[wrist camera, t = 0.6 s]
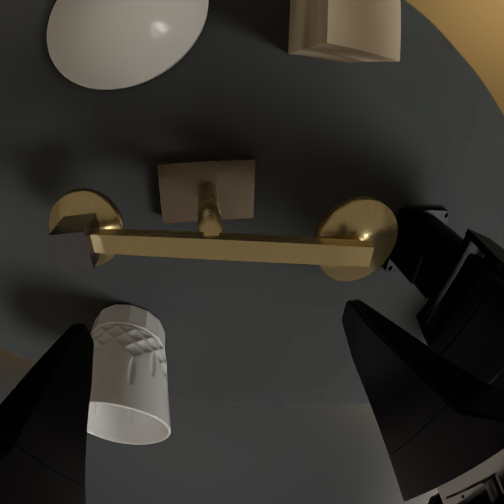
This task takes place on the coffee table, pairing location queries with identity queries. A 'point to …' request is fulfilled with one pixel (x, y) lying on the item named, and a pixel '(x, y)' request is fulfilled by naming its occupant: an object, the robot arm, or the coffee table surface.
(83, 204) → the balance
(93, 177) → the coffee table surface
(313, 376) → the coffee table surface
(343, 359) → the coffee table surface
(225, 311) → the coffee table surface
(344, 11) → the block
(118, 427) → the white cup
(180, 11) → the dish
